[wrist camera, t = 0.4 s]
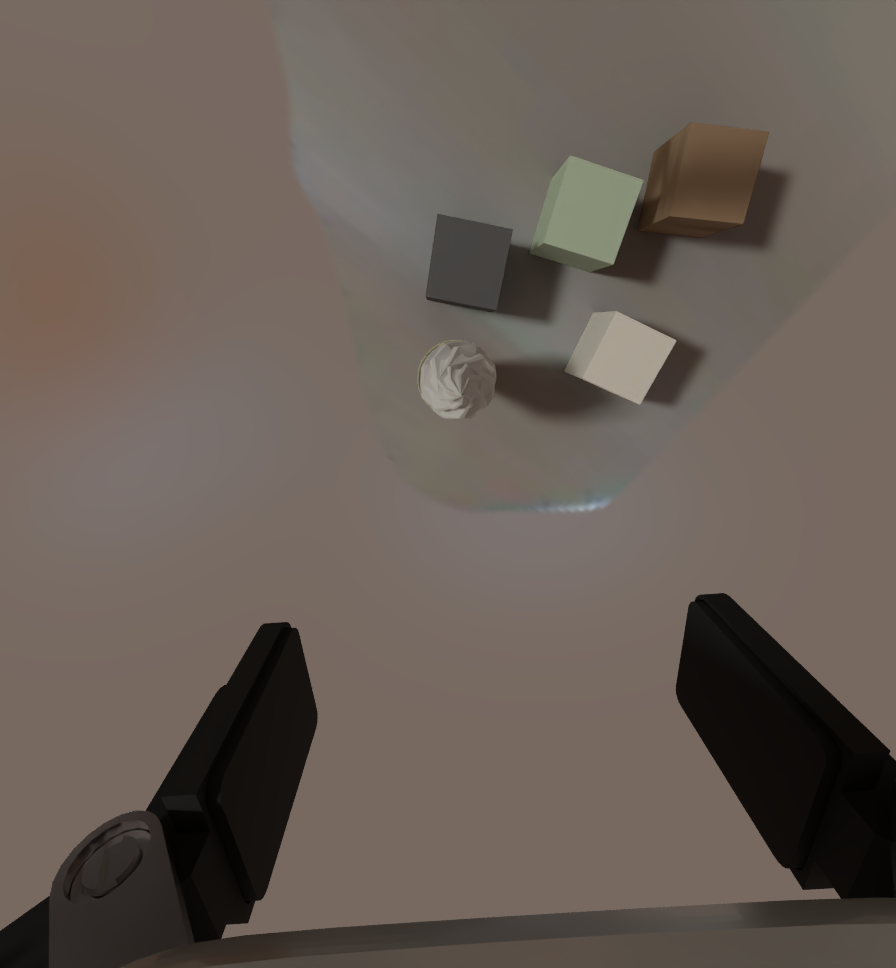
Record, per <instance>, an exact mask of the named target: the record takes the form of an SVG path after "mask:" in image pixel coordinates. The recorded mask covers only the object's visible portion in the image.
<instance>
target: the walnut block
mask: <svg viewBox="0 0 896 968" xmlns="http://www.w3.org/2000/svg"><path fill="white" fill-rule="evenodd" d="M768 135H769V132H767V131H759V130H750V129H742V128H733V127H725V126H716V125H708V124H699V123H690V124H689V125H687V126H686V127H685V128H684V129H682V130H681V131H680V132H679V133H677V134H676V135H675V136H674V137H672V138H671V139H670V140H669V141H667V142H666V143H665V144H663V145H662V146H661V147H660V148H658V149H657V150H656V151H655V152H654V154H653V159H652V164H651V169H650V174H649V178H648V183H647V188H646V193H645V197H644V202H643V207H642V212H641V216H640V221H639V226H638V231H643V232H653V233H662V234H672V235H681V236H691V237H704V236H708V235H711V234H714V233H717V232H720V231H723V230H726V229H729V228H732V227H735V226H739V225H742V224H744V220H745V217H746V213H747V209H748V206H749V202H750V199H751V195H752V192H753V188H754V185H755V181H756V178H757V174H758V170H759V167H760V163H761V160H762V156H763V153H764V149H765V146H766V142H767V139H768Z"/></svg>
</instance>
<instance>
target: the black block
mask: <svg viewBox="0 0 896 968" xmlns="http://www.w3.org/2000/svg"><path fill="white" fill-rule="evenodd" d="M512 231H513V229H508V228H503V227H499V226H494V225H489V224H484V223H479V222H474V221H470V220H465V219H460V218H455V217H450V216H445V215H441V214H438V215H437V222H436V228H435V235H434V242H433V249H432V256H431V263H430V270H429V277H428V284H427V291H426V298H427V300H431V301H436V302H441V303H447V304H452V305H457V306H462V307H467V308H473V309H478V310H483V311H488V312H490V311H495V310H497V306H498V301H499V296H500V291H501V286H502V281H503V276H504V271H505V266H506V261H507V256H508V251H509V246H510V241H511V236H512Z"/></svg>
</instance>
